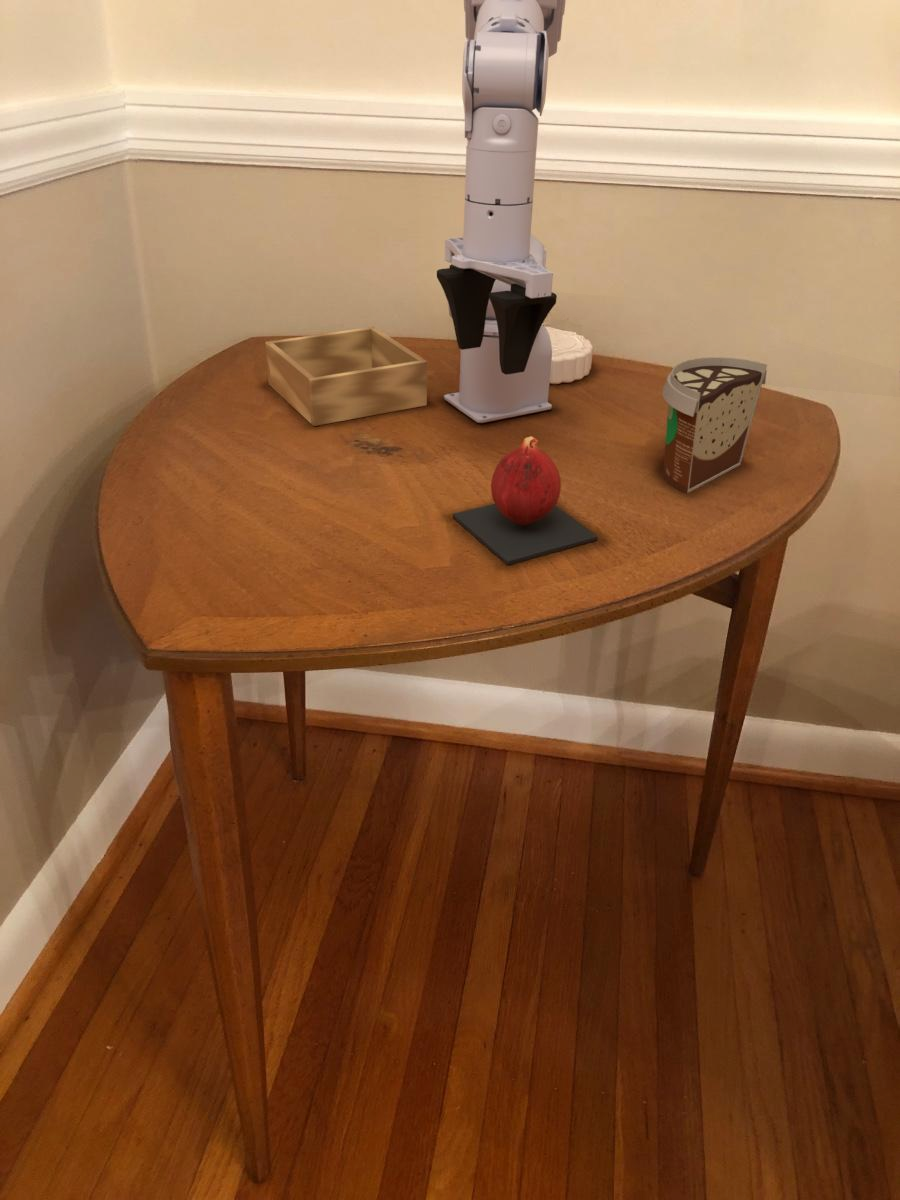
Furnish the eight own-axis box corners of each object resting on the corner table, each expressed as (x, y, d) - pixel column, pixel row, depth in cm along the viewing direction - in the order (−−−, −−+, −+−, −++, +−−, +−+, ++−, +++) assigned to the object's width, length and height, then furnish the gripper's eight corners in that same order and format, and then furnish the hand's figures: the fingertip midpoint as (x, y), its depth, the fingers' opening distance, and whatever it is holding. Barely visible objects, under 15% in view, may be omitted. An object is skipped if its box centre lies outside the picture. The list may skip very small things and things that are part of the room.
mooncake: (609, 367, 115) (613, 339, 113) (551, 393, 108) (554, 362, 106) (531, 345, 122) (533, 317, 120) (472, 367, 114) (473, 338, 112)
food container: (695, 441, 97) (713, 346, 92) (748, 460, 94) (769, 362, 88) (623, 476, 90) (638, 375, 84) (678, 498, 86) (696, 394, 81)
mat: (538, 496, 86) (538, 492, 86) (597, 540, 79) (598, 536, 79) (452, 517, 82) (452, 513, 82) (507, 565, 76) (507, 561, 75)
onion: (552, 545, 78) (561, 457, 73) (483, 537, 79) (488, 449, 74) (560, 513, 82) (568, 428, 78) (495, 506, 83) (500, 421, 79)
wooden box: (374, 367, 113) (373, 326, 111) (427, 405, 104) (427, 361, 101) (268, 384, 108) (264, 341, 105) (313, 426, 98) (310, 380, 95)
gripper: (416, 188, 82) (414, 342, 89) (504, 218, 71) (494, 390, 79) (485, 184, 85) (478, 333, 92) (579, 212, 75) (564, 378, 82)
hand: (490, 359), depth 86 cm, fingers open, 7 cm apart
